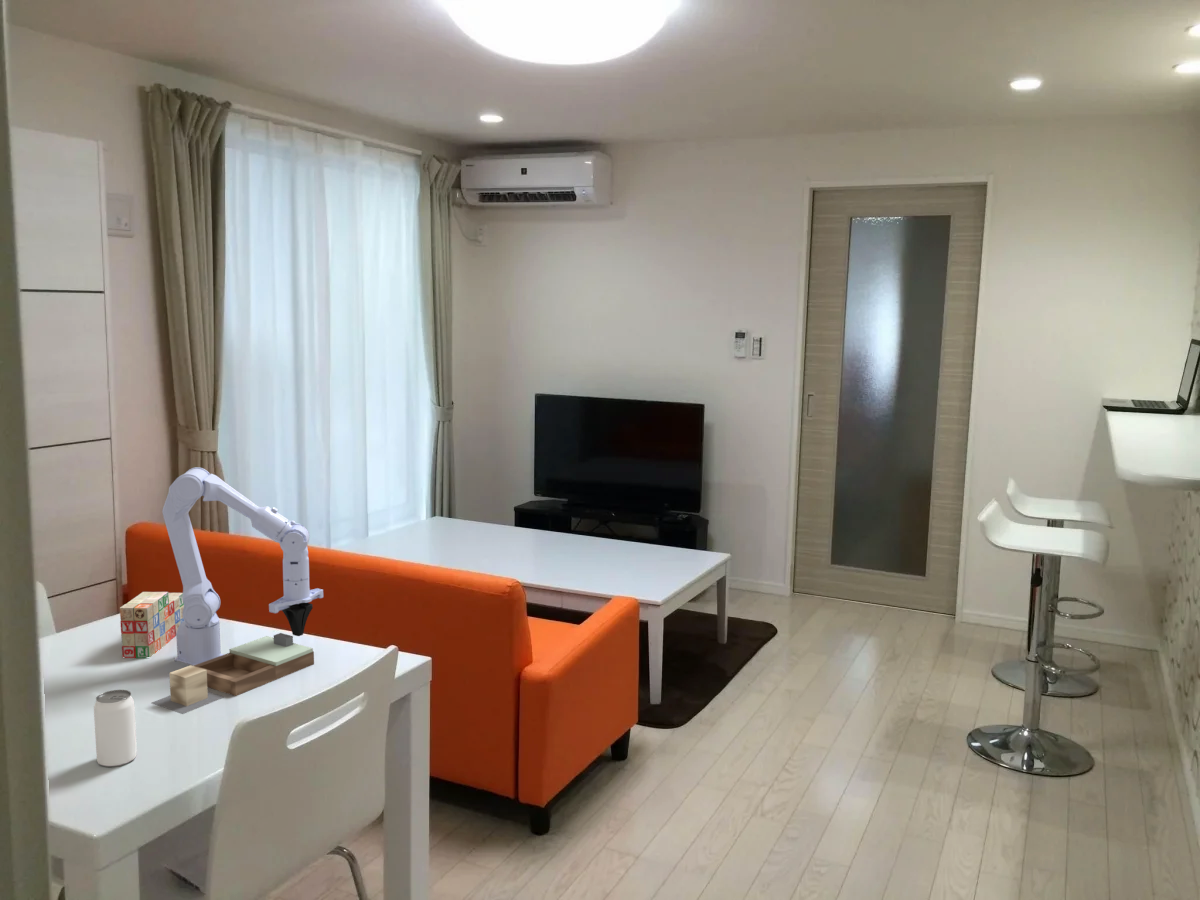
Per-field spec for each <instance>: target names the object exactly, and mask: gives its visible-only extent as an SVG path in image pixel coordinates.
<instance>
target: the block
mask: <svg viewBox="0 0 1200 900" xmlns="http://www.w3.org/2000/svg"><path fill="white" fill-rule="evenodd" d="M169 687H170V688H169V689H170V691H169V692H170V695H171V701H173V702H176V703H179V704H182V705H185V706H189V705H191V704H194V703H196V702H199V701H201V700H204V699H206V698H208V692H209V691H208V687H207V670H205V669H201V668H198V667H195V666H194V665H190V664H189V665H187V666H185V667H182V668H179V669H176V670H173V671H171V672H169ZM170 695H169V696H170Z"/></svg>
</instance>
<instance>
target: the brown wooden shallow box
mask: <svg viewBox="0 0 1200 900" xmlns="http://www.w3.org/2000/svg"><path fill="white" fill-rule="evenodd" d="M313 665H315V652H314V650H313V652H311V653H308V654H306V655H303V656H300V657H298V658H295V659H293V660H290V661H288V662H285V663H283V664H280V665H278V666H275V665H271V664H268V663H264V662H261V661H257V660H254V659H250V658H247V657H243V656H240V655H236V654H233V653H230V652H228V653H226V654H224V655H222V656H219V657H216V658H214V659H211V660H208V661H205V662H202V663H200V664H197V665H193V666H195V667H198V668H201V669H205V670H207V688H208V689H212V690H215V691H217V692H221V693H225V694H228V695H231V696H234V697H238V696H240V695H243V694H245V693H247V692H250V691H251V690H254V689H257V688H260V687H262V686H264V685H267V684H268V683H269V684H270V683H272V682H274V681H277V680H280V679H281V678H284V677H287V676H289V675H291V674H294V673H296V672H298V671H302V670H304V669H306V668H309V667H312V666H313Z"/></svg>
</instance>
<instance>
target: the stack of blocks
mask: <svg viewBox="0 0 1200 900" xmlns="http://www.w3.org/2000/svg"><path fill="white" fill-rule="evenodd" d="M183 608H184V602H183V592H169V591H142V592H141V593H139V594H138V595H136V596H135V597H133V598H132V599H131V600H130V601H128V602H127V603H125V604H123V605H122V606H120V607H119V615H120V622H119V623H120V633H121V653H122V655H121V657H122V658H123V657H125V658H124V659H147V658H146V657H150V658H152V657H153V656H154V655H155V654H157V653H158V652H159V651H160V650H161V649H163V648H164V647H165V646H166V645H167V644H168V643H169V642H170V641H171V640H172V639H174V638H176V633H177V629H178V627H179V625H180V624H181V623H182V622H183V621H184V619H183ZM162 647H163V648H162ZM158 650H159V651H158ZM157 651H158V652H157ZM156 652H157V653H156ZM153 654H154V655H153ZM152 655H153V656H152Z"/></svg>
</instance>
